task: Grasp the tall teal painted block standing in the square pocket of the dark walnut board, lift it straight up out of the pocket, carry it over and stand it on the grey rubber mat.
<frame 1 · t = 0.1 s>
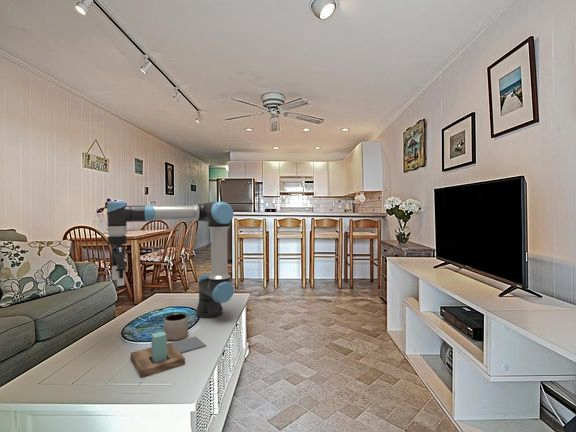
hand: (118, 282, 142), 28 cm above the table, fingers open, 13 cm apart
planter: (176, 337, 151), on the table
pocket board: (157, 361, 126), on the table
teal block: (159, 364, 124), resting in pocket board
rubber mat: (187, 345, 141), on the table
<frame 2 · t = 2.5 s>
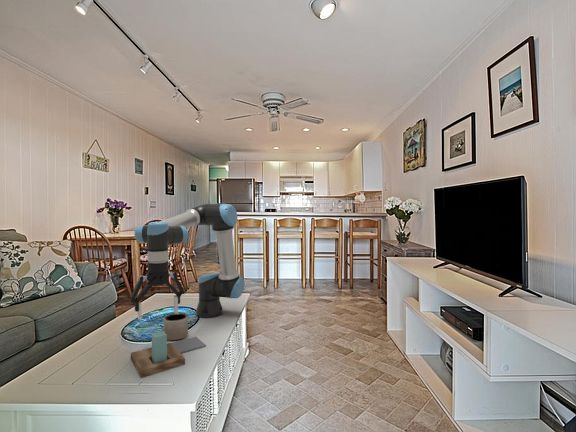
hand: (158, 315, 123), 19 cm above the table, fingers open, 13 cm apart
nothing on the table moved.
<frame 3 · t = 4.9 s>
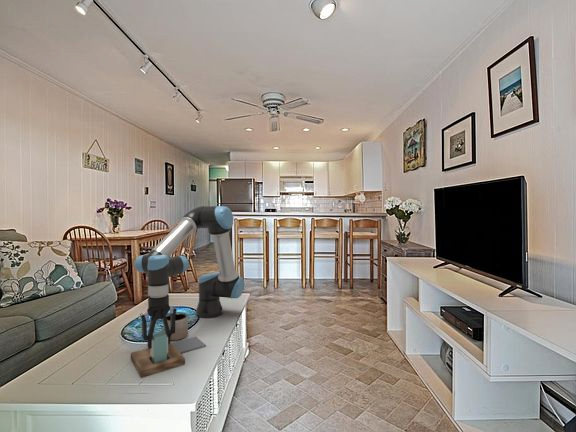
hand: (159, 353, 124), 4 cm above the table, fingers closed on teal block, 4 cm apart
teal block: (159, 364, 124), resting in pocket board, touching gripper
everything else where it was.
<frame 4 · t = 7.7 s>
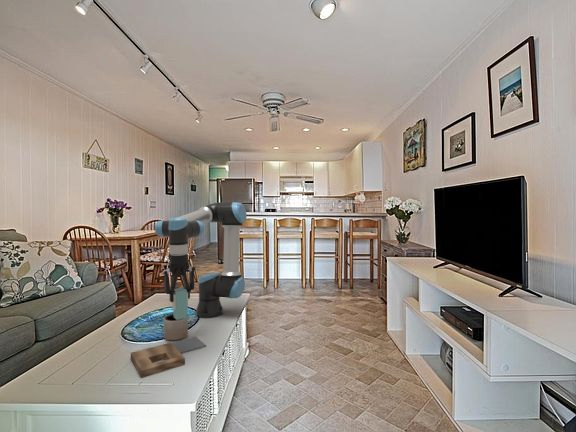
hand: (180, 307, 136), 19 cm above the table, fingers closed on teal block, 4 cm apart
teal block: (180, 317, 136), point 14 cm above the table, touching gripper
everything else where it was.
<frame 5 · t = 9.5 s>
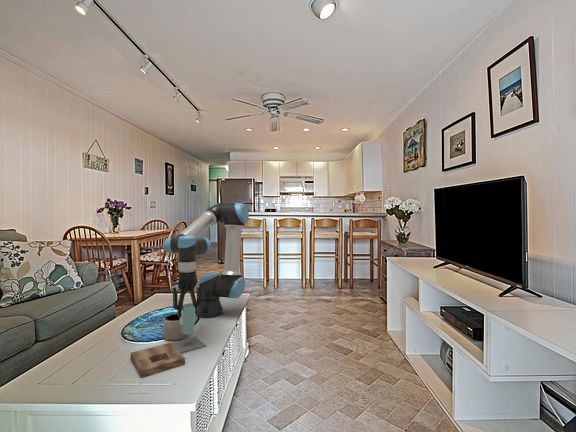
hand: (187, 322, 141), 10 cm above the table, fingers closed on teal block, 4 cm apart
teal block: (187, 331, 141), point 6 cm above the table, touching gripper
everything else where it was.
when the fingers open (6 cm above the table, at t = 10.9 s): teal block stays where it is, resting on rubber mat.
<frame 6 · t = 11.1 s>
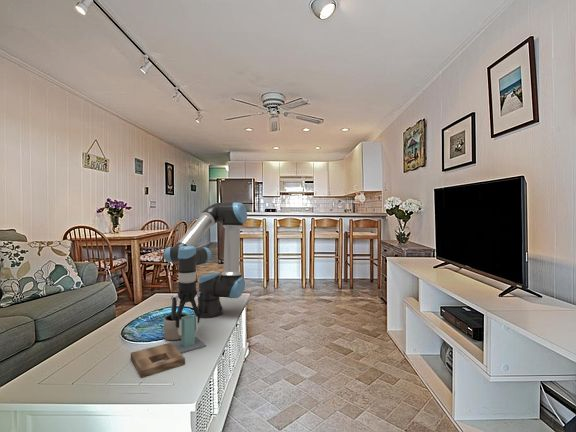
hand: (187, 332, 141), 6 cm above the table, fingers open, 7 cm apart
teal block: (188, 344, 141), point 1 cm above the table, touching rubber mat
everything else where it was.
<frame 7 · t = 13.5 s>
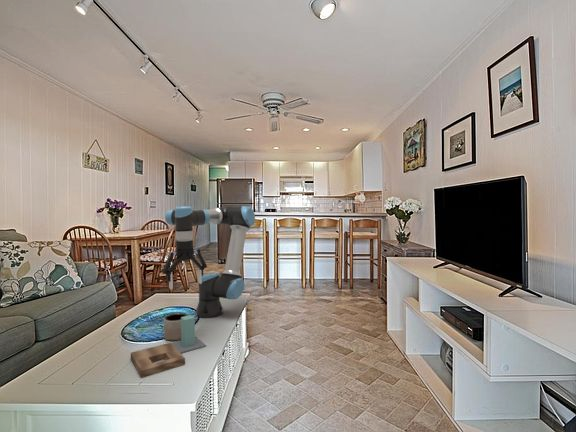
hand: (185, 285, 145), 26 cm above the table, fingers open, 13 cm apart
nothing on the table moved.
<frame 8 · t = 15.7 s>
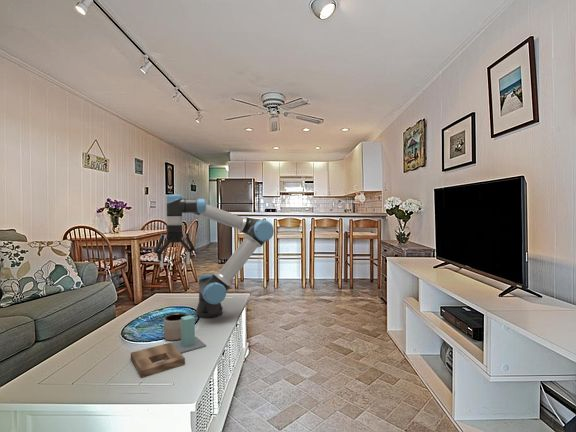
hand: (175, 265, 163), 32 cm above the table, fingers open, 13 cm apart
nothing on the table moved.
at the end: teal block inside the target area on the rubber mat (0.0 cm from its centre), point 0.6 cm above the rubber mat's base; teal block tilted 0°; teal block touching rubber mat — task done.
